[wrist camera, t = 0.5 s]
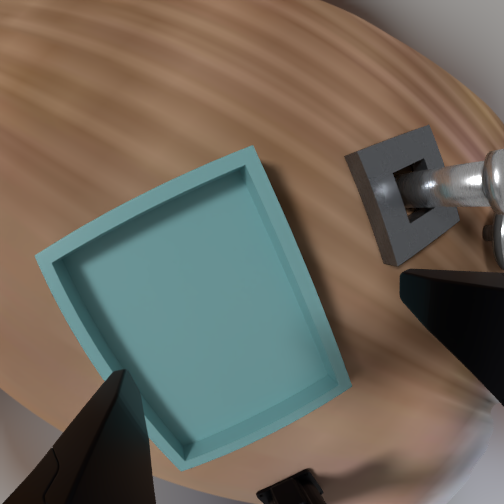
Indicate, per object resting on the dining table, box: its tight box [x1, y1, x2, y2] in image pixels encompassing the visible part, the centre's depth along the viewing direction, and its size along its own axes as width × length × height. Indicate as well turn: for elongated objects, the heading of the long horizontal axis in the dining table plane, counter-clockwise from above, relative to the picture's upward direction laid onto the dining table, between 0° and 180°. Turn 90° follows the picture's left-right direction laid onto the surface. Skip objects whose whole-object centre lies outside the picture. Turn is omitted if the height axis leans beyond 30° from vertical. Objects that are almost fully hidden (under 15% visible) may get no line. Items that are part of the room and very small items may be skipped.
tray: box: [35, 145, 352, 471], centre depth 20 cm, size 20×16×3 cm
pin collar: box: [344, 125, 460, 266], centre depth 24 cm, size 10×10×2 cm
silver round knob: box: [483, 213, 504, 270], centre depth 27 cm, size 9×9×5 cm
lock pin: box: [395, 149, 504, 215], centre depth 19 cm, size 4×4×12 cm
